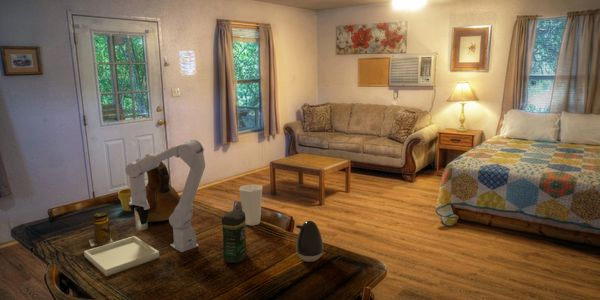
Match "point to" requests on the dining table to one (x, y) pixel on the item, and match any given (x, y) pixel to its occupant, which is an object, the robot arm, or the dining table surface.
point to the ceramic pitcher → (160, 194)
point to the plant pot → (125, 198)
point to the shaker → (137, 220)
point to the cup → (251, 203)
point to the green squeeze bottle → (234, 236)
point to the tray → (121, 255)
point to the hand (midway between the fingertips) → (141, 222)
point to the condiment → (101, 229)
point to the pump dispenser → (309, 242)
